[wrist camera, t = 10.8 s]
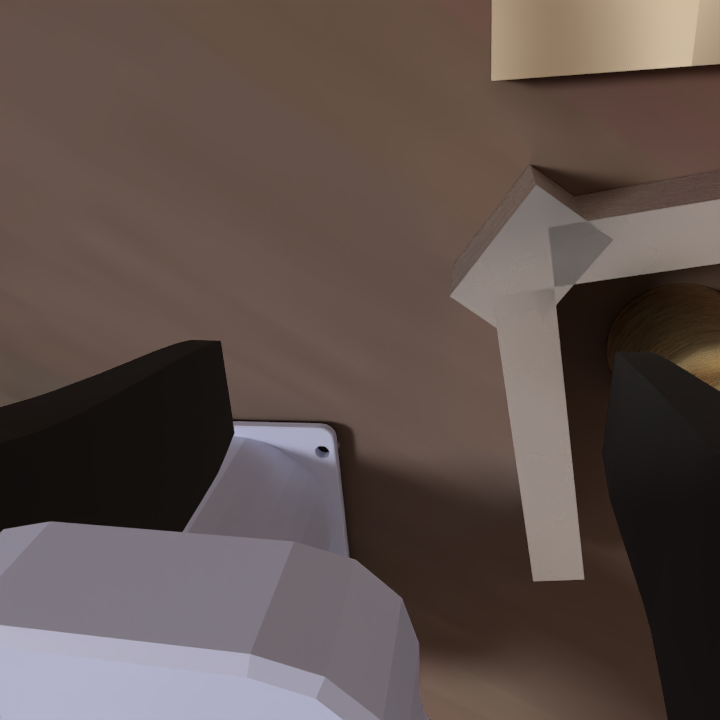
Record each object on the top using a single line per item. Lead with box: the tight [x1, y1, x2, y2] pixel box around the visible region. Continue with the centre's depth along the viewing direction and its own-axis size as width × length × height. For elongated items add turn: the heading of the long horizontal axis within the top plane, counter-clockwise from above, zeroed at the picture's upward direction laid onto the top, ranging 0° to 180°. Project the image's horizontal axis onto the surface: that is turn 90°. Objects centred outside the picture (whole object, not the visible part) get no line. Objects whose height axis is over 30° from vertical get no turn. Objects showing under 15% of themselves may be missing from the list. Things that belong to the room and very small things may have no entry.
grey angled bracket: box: [450, 165, 720, 581], centre depth 19 cm, size 9×16×3 cm, turn 147°
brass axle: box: [606, 283, 720, 391], centre depth 17 cm, size 4×4×8 cm
